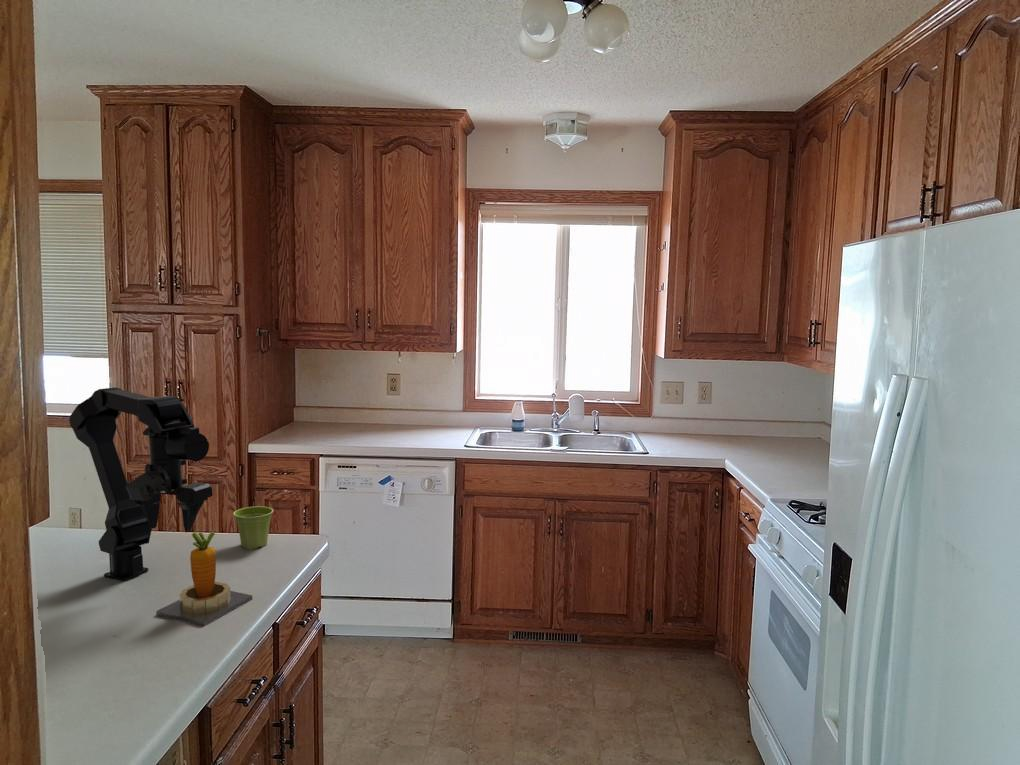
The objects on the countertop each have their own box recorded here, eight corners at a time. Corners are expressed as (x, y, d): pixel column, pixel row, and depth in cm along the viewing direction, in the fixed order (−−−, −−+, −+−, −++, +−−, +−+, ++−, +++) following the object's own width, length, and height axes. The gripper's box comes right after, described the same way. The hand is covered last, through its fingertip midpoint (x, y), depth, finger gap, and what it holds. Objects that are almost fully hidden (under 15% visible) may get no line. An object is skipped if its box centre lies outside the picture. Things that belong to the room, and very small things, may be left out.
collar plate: (156, 614, 135) (155, 598, 135) (207, 589, 147) (206, 574, 147) (203, 626, 131) (203, 609, 131) (252, 599, 143) (251, 583, 143)
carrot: (222, 597, 142) (219, 526, 140) (212, 608, 137) (209, 535, 135) (198, 596, 142) (194, 526, 140) (187, 608, 137) (183, 535, 135)
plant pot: (241, 538, 179) (240, 506, 178) (278, 538, 180) (277, 505, 179) (229, 551, 170) (228, 517, 169) (268, 551, 170) (267, 517, 169)
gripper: (98, 462, 140) (103, 537, 142) (169, 468, 134) (174, 546, 135) (143, 452, 150) (148, 522, 152) (212, 456, 144) (216, 529, 146)
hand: (170, 529), depth 146 cm, fingers open, 9 cm apart
